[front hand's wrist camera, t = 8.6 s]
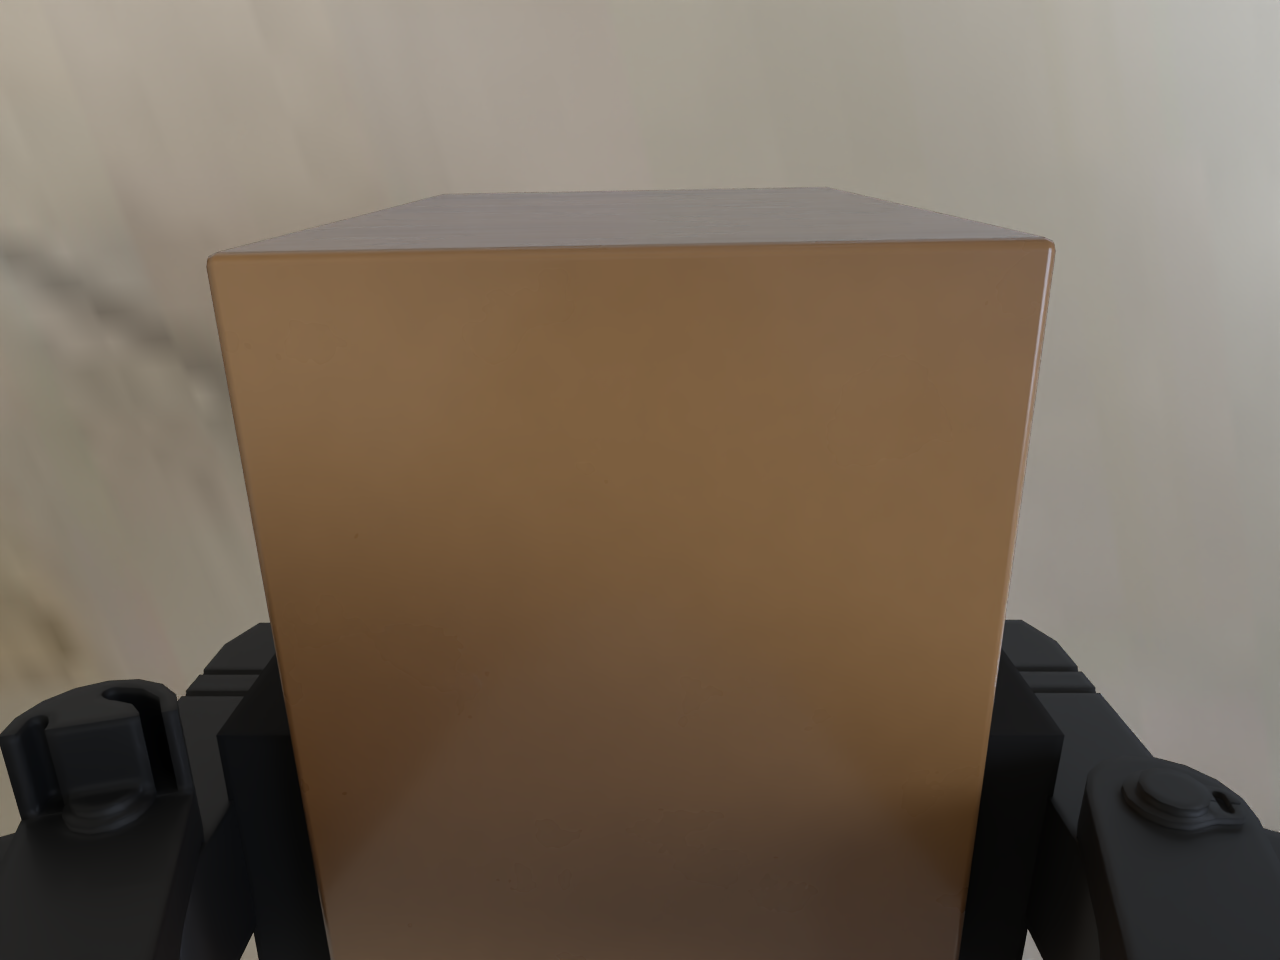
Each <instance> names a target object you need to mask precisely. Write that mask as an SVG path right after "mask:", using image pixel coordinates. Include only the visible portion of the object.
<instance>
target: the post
mask: <svg viewBox="0 0 1280 960" xmlns="http://www.w3.org/2000/svg"><path fill="white" fill-rule="evenodd" d="M1055 252H1056V251H1055V246H1054V242H1053V241H1052V240H1050V239H1047V238H1045V237H1042V236H1037V235H1033V234H1028V233H1024V232H1020V231H1015V230H1011V229H1007V228H1002V227H998V226H994V225H989V224H985V223H981V222H976V221H972V220H968V219H963V218H959V217H955V216H950V215H946V214H942V213H937V212H933V211H929V210H924V209H920V208H916V207H911V206H907V205H902V204H898V203H894V202H889V201H885V200H881V199H876V198H872V197H868V196H863V195H859V194H855V193H850V192H846V191H842V190H837V189H833V188H829V187H800V188H746V189H692V190H638V191H584V192H531V193H477V194H442V195H438V196H435V197H431V198H427V199H423V200H419V201H415V202H411V203H407V204H403V205H399V206H396V207H392V208H388V209H384V210H380V211H376V212H372V213H368V214H364V215H360V216H357V217H353V218H349V219H345V220H341V221H337V222H333V223H329V224H325V225H321V226H318V227H314V228H310V229H306V230H302V231H298V232H294V233H290V234H286V235H282V236H279V237H275V238H271V239H267V240H263V241H259V242H255V243H251V244H247V245H244V246H240V247H236V248H232V249H228V250H224V251H220V252H217V253H215V254H213V255H211V256H209V257H208V260H207V272H208V278H209V284H210V289H211V295H212V300H213V306H214V311H215V317H216V323H217V328H218V334H219V339H220V345H221V350H222V356H223V362H224V367H225V373H226V378H227V384H228V389H229V395H230V401H231V406H232V412H233V417H234V423H235V428H236V434H237V440H238V445H239V451H240V456H241V462H242V468H243V473H244V479H245V484H246V490H247V495H248V501H249V507H250V512H251V518H252V523H253V529H254V534H255V540H256V546H257V551H258V557H259V562H260V568H261V573H262V579H263V585H264V590H265V596H266V601H267V607H268V612H269V618H270V624H271V629H272V635H273V640H274V646H275V652H276V657H277V663H278V668H279V674H280V679H281V685H282V691H283V696H284V702H285V707H286V713H287V718H288V724H289V730H290V735H291V741H292V746H293V752H294V757H295V763H296V769H297V774H298V780H299V785H300V791H301V796H302V802H303V808H304V813H305V819H306V824H307V830H308V836H309V841H310V847H311V852H312V858H313V863H314V869H315V875H316V880H317V886H318V891H319V897H320V902H321V908H322V914H323V919H324V925H325V930H326V936H327V941H328V947H329V953H330V958H331V960H958V959H959V952H960V945H961V937H962V930H963V923H964V915H965V908H966V901H967V894H968V886H969V879H970V872H971V864H972V857H973V850H974V842H975V835H976V828H977V821H978V813H979V806H980V799H981V791H982V784H983V777H984V770H985V762H986V755H987V748H988V740H989V733H990V726H991V718H992V711H993V704H994V697H995V689H996V682H997V675H998V667H999V660H1000V653H1001V646H1002V638H1003V631H1004V624H1005V616H1006V609H1007V602H1008V595H1009V587H1010V580H1011V573H1012V565H1013V558H1014V551H1015V543H1016V536H1017V529H1018V522H1019V514H1020V507H1021V500H1022V492H1023V485H1024V478H1025V471H1026V463H1027V456H1028V449H1029V441H1030V434H1031V427H1032V419H1033V412H1034V405H1035V398H1036V390H1037V383H1038V376H1039V368H1040V361H1041V354H1042V347H1043V339H1044V332H1045V325H1046V317H1047V310H1048V303H1049V295H1050V288H1051V281H1052V274H1053V266H1054V259H1055Z"/></svg>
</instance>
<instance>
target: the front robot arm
mask: <svg viewBox="0 0 1280 960" xmlns="http://www.w3.org/2000/svg"><path fill="white" fill-rule="evenodd" d="M0 747H1V750H2V754H3V757H4V761H5V764H6V768H7V771H8V775H9V778H10V782H11V785H12V788H13V792H14V795H15V799H16V802H17V806H18V809H19V813H20V816H21V822H20V825H19V827H18V829H17V831H16V833H13V834H10V835H6V836H2V837H0V960H240V958H241V956H242V954H243V952H244V950H245V948H246V946H247V944H248V942H249V940H250V938H251V936H252V934H253V932H254V937H255V942H256V947H257V952H258V958H259V960H331V958H330V953H329V947H328V941H327V936H326V930H325V925H324V919H323V914H322V908H321V902H320V897H319V891H318V886H317V880H316V875H315V869H314V863H313V858H312V852H311V847H310V841H309V836H308V830H307V824H306V819H305V813H304V808H303V802H302V796H301V791H300V785H299V780H298V774H297V769H296V763H295V757H294V752H293V746H292V741H291V735H290V730H289V724H288V718H287V713H286V707H285V702H284V696H283V691H282V685H281V679H280V674H279V668H278V663H277V657H276V652H275V646H274V640H273V635H272V629H271V624H270V623H259V624H257V625H255V626H254V627H252V628H251V629H249V630H247V631H246V632H244V633H242V634H241V635H239V636H238V637H236V638H234V639H233V640H231V641H230V642H228V643H226V644H225V645H224V646H223V647H222V648H221V650H220V651H219V652H218V653H217V654H216V656H215V657H214V658H213V659H212V660H211V662H210V663H209V664H208V665H207V666H206V668H205V669H204V674H203V675H199V676H198V677H197V678H196V680H195V681H194V682H193V683H192V684H191V686H190V687H189V688H188V689H187V690H186V696H181V698H180V699H179V700H178V701H177V697H176V694H175V693H173V692H172V691H171V690H170V689H168V688H167V687H166V686H164V685H163V684H160V683H155V682H150V681H145V680H140V679H134V680H113V681H105V682H101V683H97V684H92V685H88V686H83V687H79V688H75V689H72V690H70V691H67V692H65V693H62V694H60V695H57V696H55V697H52V698H50V699H47V700H45V701H42V702H41V703H39V704H37V705H36V706H34V707H33V708H31V709H29V710H28V711H26V712H24V713H23V714H21V715H20V716H18V717H16V718H15V719H14V720H13V721H12V722H11V723H10V724H9V725H8V726H7V728H6V729H5V730H4V731H3V732H2V733H1V734H0ZM1027 930H1029V932H1030V934H1031V936H1032V938H1033V940H1034V942H1035V944H1036V946H1037V948H1038V950H1039V952H1040V954H1041V956H1042V958H1043V960H1280V833H1279V832H1275V831H1272V830H1268V829H1264V828H1263V827H1262V825H1261V823H1260V821H1259V819H1258V818H1257V816H1256V815H1255V814H1254V813H1253V811H1252V810H1251V809H1250V807H1249V806H1248V805H1247V804H1246V802H1245V801H1244V800H1243V798H1241V797H1240V796H1238V795H1237V794H1236V793H1234V792H1233V791H1231V790H1230V789H1229V788H1227V787H1226V786H1225V785H1223V784H1222V783H1220V782H1219V781H1218V780H1216V779H1214V778H1212V777H1210V776H1207V775H1205V774H1203V773H1201V772H1199V771H1196V770H1194V769H1192V768H1190V767H1188V766H1186V765H1182V764H1178V763H1174V762H1170V761H1166V760H1163V759H1159V758H1155V757H1153V756H1152V755H1151V753H1150V752H1149V751H1148V750H1147V749H1146V747H1145V746H1144V745H1143V744H1142V743H1141V742H1140V740H1139V739H1138V738H1137V737H1136V736H1135V734H1134V733H1133V732H1132V731H1131V730H1130V728H1129V727H1128V726H1127V725H1126V724H1125V722H1124V721H1123V720H1122V719H1121V718H1120V717H1119V715H1118V714H1117V713H1116V712H1115V711H1114V709H1113V708H1112V707H1111V706H1110V705H1109V703H1108V702H1107V701H1106V700H1105V699H1104V697H1103V696H1102V695H1101V694H1100V693H1096V692H1095V687H1094V686H1093V684H1092V683H1091V682H1090V681H1089V680H1088V678H1087V677H1086V676H1085V675H1084V674H1083V672H1078V666H1077V665H1076V664H1075V663H1074V662H1073V661H1072V659H1071V658H1070V657H1069V656H1068V655H1067V653H1066V652H1065V651H1064V650H1063V649H1062V647H1061V646H1060V645H1059V644H1058V643H1057V641H1055V640H1053V639H1052V638H1050V637H1048V636H1047V635H1045V634H1044V633H1042V632H1040V631H1039V630H1037V629H1036V628H1034V627H1032V626H1031V625H1029V624H1027V623H1026V622H1024V621H1023V620H1005V624H1004V631H1003V638H1002V646H1001V653H1000V660H999V667H998V675H997V682H996V689H995V697H994V704H993V711H992V718H991V726H990V733H989V740H988V748H987V755H986V762H985V770H984V777H983V784H982V791H981V799H980V806H979V813H978V821H977V828H976V835H975V842H974V850H973V857H972V864H971V872H970V879H969V886H968V894H967V901H966V908H965V915H964V923H963V930H962V937H961V945H960V952H959V959H958V960H1022V956H1023V951H1024V946H1025V940H1026V935H1027Z"/></svg>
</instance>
